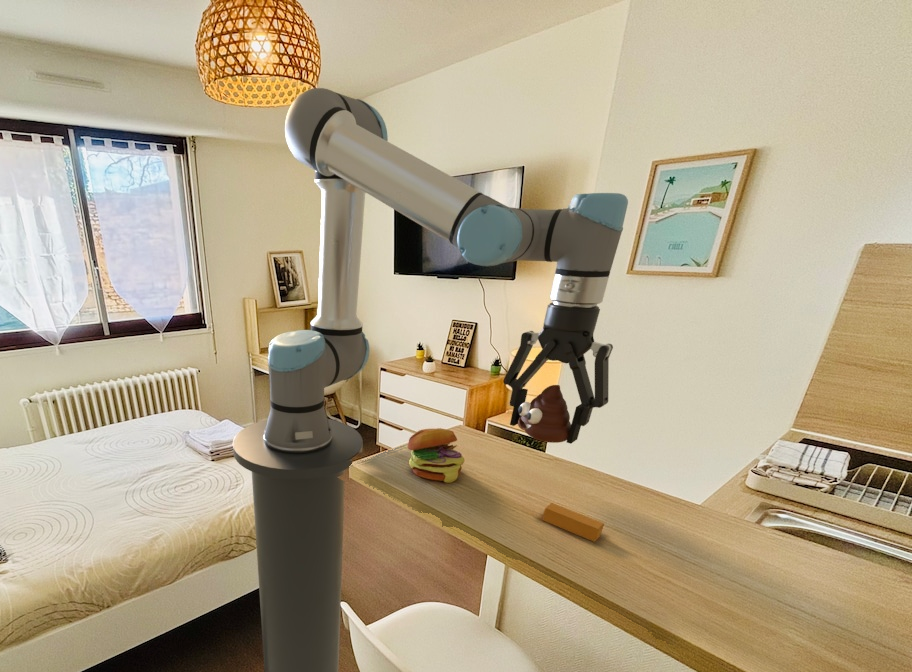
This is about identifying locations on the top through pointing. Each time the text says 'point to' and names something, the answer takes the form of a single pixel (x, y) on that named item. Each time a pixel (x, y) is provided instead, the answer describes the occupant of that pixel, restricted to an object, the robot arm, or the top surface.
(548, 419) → the poop emoji
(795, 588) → the top surface
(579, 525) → the ochre stick
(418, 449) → the cheeseburger
